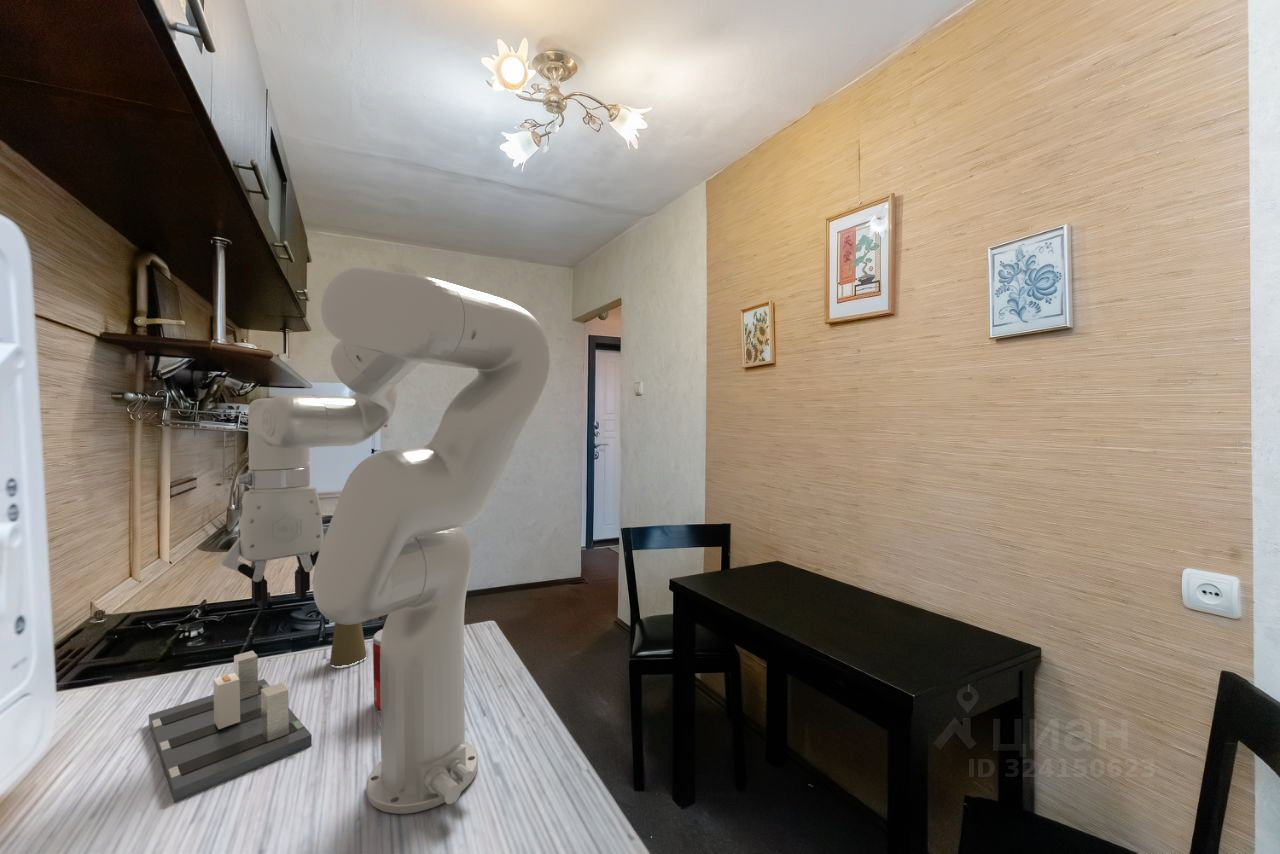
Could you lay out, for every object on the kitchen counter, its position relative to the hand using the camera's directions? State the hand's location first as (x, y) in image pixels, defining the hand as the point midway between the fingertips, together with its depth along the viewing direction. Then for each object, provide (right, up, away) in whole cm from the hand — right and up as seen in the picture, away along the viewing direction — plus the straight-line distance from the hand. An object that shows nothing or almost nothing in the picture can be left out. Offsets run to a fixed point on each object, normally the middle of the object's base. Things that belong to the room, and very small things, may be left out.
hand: (281, 600), depth 78 cm
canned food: (+16, -17, +3) cm, 24 cm away
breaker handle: (-4, -16, -5) cm, 17 cm away
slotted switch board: (-4, -17, -5) cm, 19 cm away
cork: (0, -18, +18) cm, 25 cm away
